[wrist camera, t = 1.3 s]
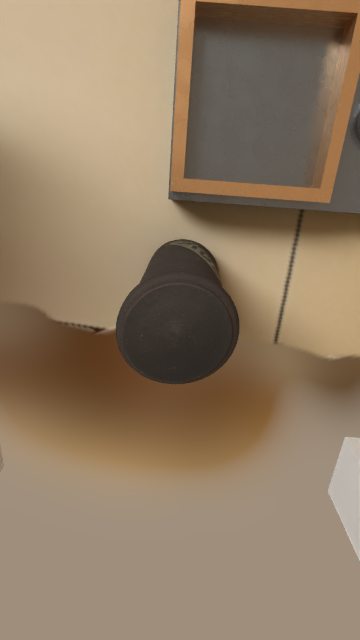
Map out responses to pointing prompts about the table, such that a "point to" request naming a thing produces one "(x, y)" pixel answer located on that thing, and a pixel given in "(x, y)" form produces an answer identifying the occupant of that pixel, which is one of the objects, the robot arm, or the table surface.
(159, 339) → the container
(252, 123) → the framed panel with knob
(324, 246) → the table surface
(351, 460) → the robot arm
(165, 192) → the table surface
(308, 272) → the table surface
